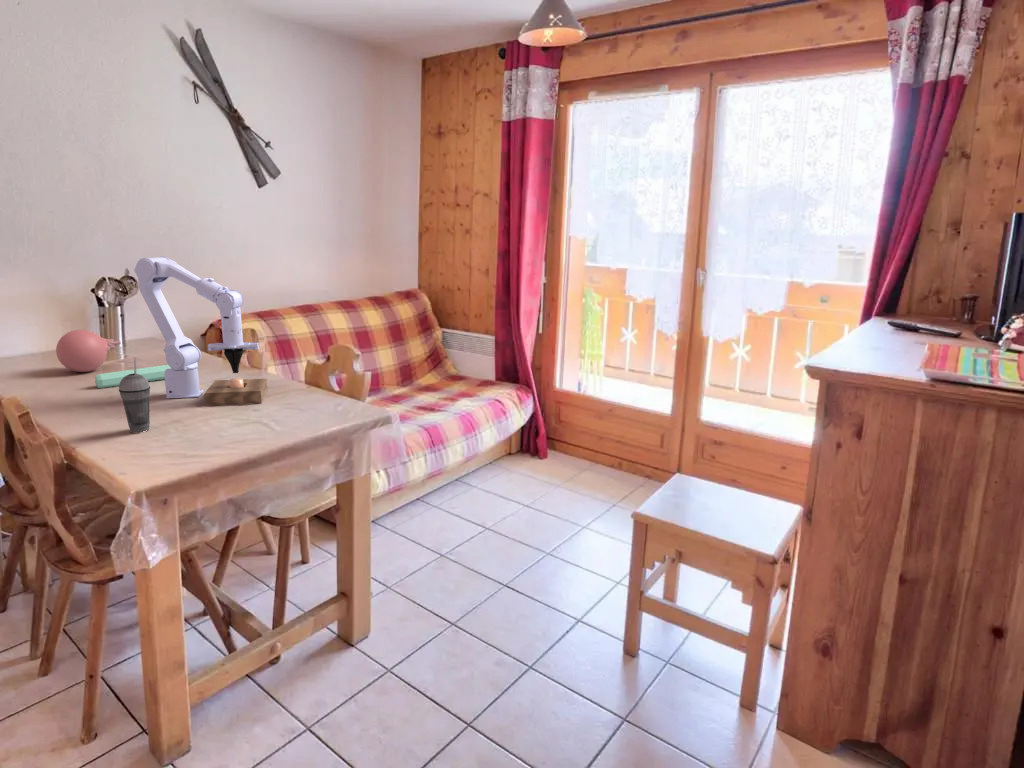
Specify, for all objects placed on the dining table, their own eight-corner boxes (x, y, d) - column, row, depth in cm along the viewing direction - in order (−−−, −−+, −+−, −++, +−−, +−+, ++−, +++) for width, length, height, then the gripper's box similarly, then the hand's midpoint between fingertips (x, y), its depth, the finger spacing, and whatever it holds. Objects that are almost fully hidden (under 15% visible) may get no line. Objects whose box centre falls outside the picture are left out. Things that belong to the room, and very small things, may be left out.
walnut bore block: (205, 405, 195) (204, 393, 194) (216, 392, 210) (214, 380, 209) (261, 403, 199) (260, 390, 198) (267, 390, 214) (266, 378, 213)
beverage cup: (132, 426, 175) (123, 354, 170) (160, 426, 175) (151, 354, 170) (118, 435, 168) (108, 360, 163) (147, 434, 168) (138, 360, 163)
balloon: (126, 371, 235) (121, 330, 231) (60, 378, 223) (54, 335, 220) (121, 363, 247) (116, 324, 243) (58, 370, 235) (52, 328, 231)
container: (94, 371, 209) (176, 360, 226) (91, 375, 214) (172, 364, 230) (98, 389, 209) (180, 376, 226) (95, 392, 214) (176, 380, 230)
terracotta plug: (230, 399, 202) (228, 381, 200) (232, 396, 206) (230, 378, 204) (243, 399, 203) (242, 380, 201) (245, 396, 207) (244, 377, 205)
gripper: (204, 332, 194) (208, 376, 197) (255, 331, 197) (258, 374, 200) (209, 328, 200) (212, 371, 204) (258, 328, 204) (261, 369, 207)
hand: (235, 372), depth 202 cm, fingers closed
